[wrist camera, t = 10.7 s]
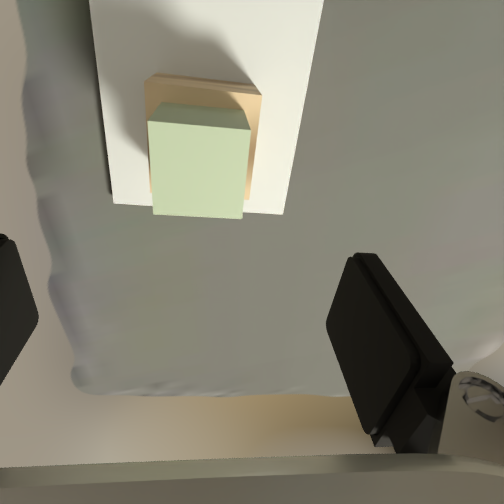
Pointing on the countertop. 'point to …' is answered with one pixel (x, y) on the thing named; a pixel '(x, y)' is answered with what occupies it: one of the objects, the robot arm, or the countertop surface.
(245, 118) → the sage cube
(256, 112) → the oak block
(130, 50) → the building board
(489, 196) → the countertop surface
